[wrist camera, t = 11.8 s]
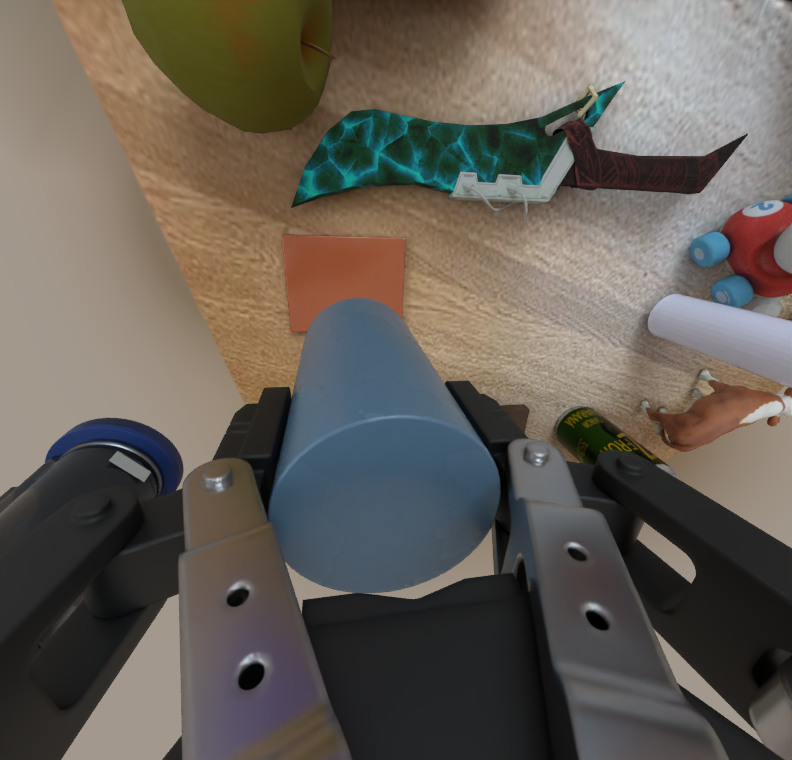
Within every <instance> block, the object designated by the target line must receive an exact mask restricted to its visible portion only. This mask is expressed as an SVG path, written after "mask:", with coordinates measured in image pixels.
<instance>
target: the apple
mask: <svg viewBox="0 0 792 760" xmlns="http://www.w3.org/2000/svg"><path fill="white" fill-rule="evenodd" d="M122 2H123V4H124V7H125V10H126V13H127V16H128V19H129V21H130V24H131V27H132V30H133V33H134V35H135V36H136V38H137V39H138V41H139V42H140V43H141V45H142V46H143V48H144V49H145V51H146V52H147V54H148V55H149V56H150V58H151V59H152V61H153V62H154V63H155V64H156V65H157V66H158V67H159V69H160V70H161V71H162V72H163V73H164V74H165V75H166V76H167V77H168V78H169V79H170V80H171V81H172V82H173V83H174V84H175V85H176V86H177V87H178V88H179V89H180V90H181V91H182V93H183V94H185V95H186V96H187V97H189V98H190V99H191V100H192V101H194V102H195V103H196V104H197V105H199V106H200V107H201V108H202V109H204V110H205V111H207V112H208V113H210V114H212V115H214V116H216V117H218V118H220V119H221V120H223V121H225V122H227V123H229V124H231V125H233V126H234V127H236V128H238V129H240V130H242V131H244V132H254V133H268V132H275V131H282V130H289V129H292V128H293V127H294V126H295V125H297V124H298V123H299V122H301V121H302V120H303V119H304V118H306V117H307V116H308V115H309V114H311V113H312V111H313V110H314V109H315V107H316V106H317V105H318V103H319V100H320V98H321V95H322V92H323V90H324V87H325V83H326V79H327V75H328V71H329V67H330V59H336V58H335V57H333V56H332V55H331V44H332V19H333V13H332V3H331V0H122Z"/></svg>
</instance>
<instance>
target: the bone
mask: <svg viewBox="0 0 792 760" xmlns="http://www.w3.org/2000/svg"><path fill="white" fill-rule="evenodd" d="M783 297H784V296H781V297H776V298H760V297H756V296H755V297H753V298H752V300H751V301H750V302H749V303H747V304H745V305H742V306H740V307H739V308H741V309H745V310H749V311H753V312H758V313H762V314H766V315H770V316H775V317H777V316H778V315H779V314H780V312H781V309H782V306H781V305H780V304H779V303H780V301H781V300H782V299H783Z"/></svg>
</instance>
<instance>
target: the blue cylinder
mask: <svg viewBox="0 0 792 760" xmlns="http://www.w3.org/2000/svg"><path fill="white" fill-rule="evenodd" d="M500 498H501V481H500V477H499V472H498V469H497V466H496V464H495V461H494V459H493V458H492V456H491V455H490V453H489V451H488V450H487V448H486V447H485V445H484V444H483V442H482V441H481V439H480V437H479V436H478V434H477V433H476V431H475V430H474V428H473V427H472V425H471V424H470V422H469V421H468V419H467V418H466V416H465V414H464V413H463V411H462V410H461V408H460V407H459V405H458V404H457V402H456V401H455V399H454V398H453V396H452V395H451V393H450V392H449V390H448V388H447V387H446V385H445V384H444V382H443V381H442V379H441V378H440V376H439V375H438V373H437V372H436V370H435V369H434V367H433V365H432V364H431V362H430V361H429V359H428V358H427V356H426V355H425V353H424V352H423V350H422V349H421V347H420V346H419V344H418V342H417V341H416V339H415V338H414V336H413V335H412V333H411V332H410V330H409V329H408V327H407V326H406V324H405V323H404V321H403V320H402V318H401V317H400V316H399V315H398V314H397V313H396V312H395V311H394V310H393V309H391V308H390V307H388V306H387V305H385V304H383V303H381V302H378V301H375V300H371V299H366V298H351V299H346V300H342V301H339V302H336V303H334V304H332V305H330V306H328V307H327V308H326V309H324V310H323V311H322V312H321V313H319V314H318V315H317V317H316V318H315V319H314V320H313V322H312V323H311V325H310V326H309V328H308V331H307V333H306V336H305V340H304V344H303V349H302V354H301V358H300V363H299V367H298V372H297V376H296V381H295V386H294V390H293V395H292V399H291V404H290V409H289V413H288V418H287V422H286V427H285V432H284V436H283V441H282V445H281V450H280V454H279V459H278V464H277V468H276V473H275V477H274V482H273V487H272V491H271V496H270V500H269V507H268V522H269V521H271V522H272V524H273V526H274V529H275V532H276V535H277V539H278V542H279V545H280V548H281V551H282V554H283V557H284V560H285V562H286V563H287V564H288V565H289V566H290V567H291V568H292V569H294V570H295V571H296V572H298V573H299V574H300V575H301V576H303V577H305V578H307V579H308V580H310V581H312V582H314V583H317V584H319V585H322V586H324V587H328V588H331V589H334V590H339V591H345V592H353V593H381V592H390V591H395V590H401V589H405V588H408V587H412V586H415V585H418V584H421V583H424V582H427V581H428V580H431V579H433V578H435V577H438V576H439V575H441V574H443V573H445V572H446V571H448V570H450V569H451V568H453V567H454V566H456V565H457V564H459V563H460V562H461V561H463V560H464V559H465V558H466V557H467V556H469V555H470V554H471V553H472V552H473V551H474V550H475V549H476V548H477V547H478V546H479V544H480V543H481V542H482V541H483V539H484V538H485V537H486V535H487V533H488V532H489V530H490V529H491V527H492V525H493V523H494V521H495V518H496V516H497V513H498V509H499V506H500Z"/></svg>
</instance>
